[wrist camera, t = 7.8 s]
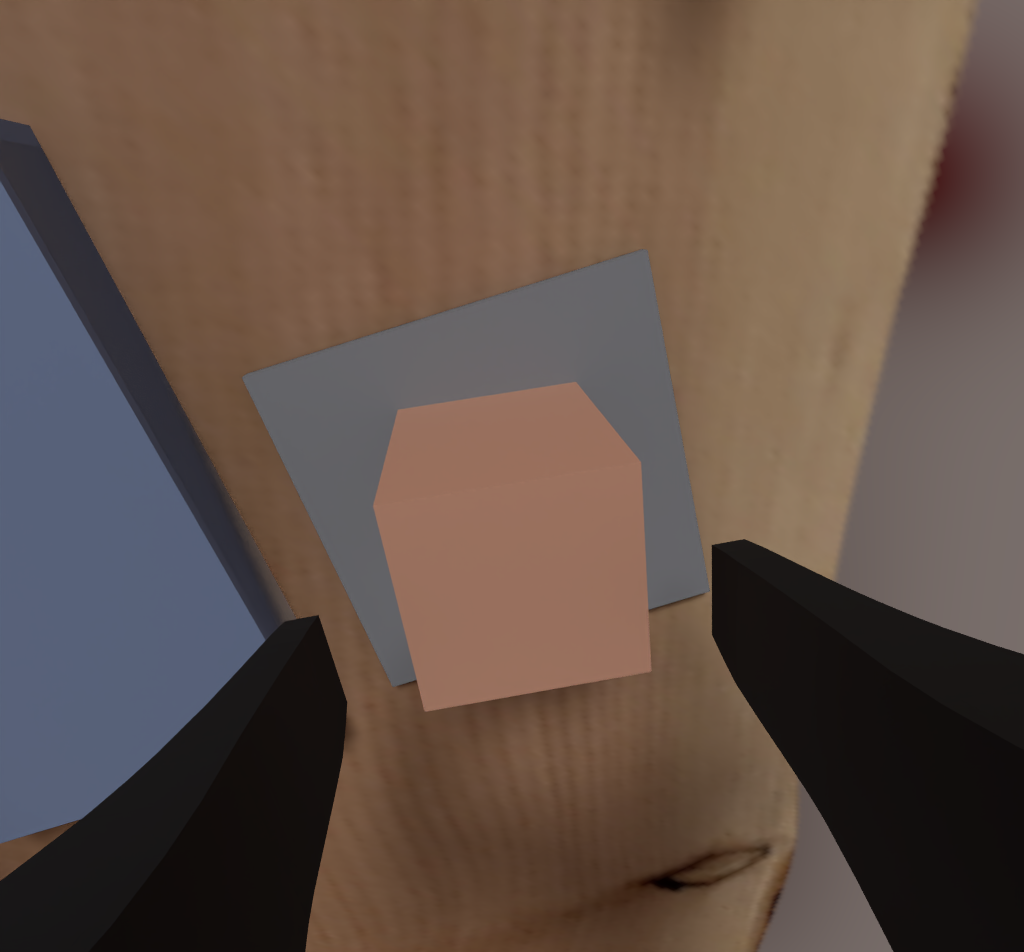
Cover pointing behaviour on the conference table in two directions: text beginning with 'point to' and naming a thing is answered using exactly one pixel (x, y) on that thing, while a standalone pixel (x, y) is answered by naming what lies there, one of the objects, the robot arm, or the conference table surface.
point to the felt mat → (475, 373)
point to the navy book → (100, 525)
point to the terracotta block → (515, 545)
